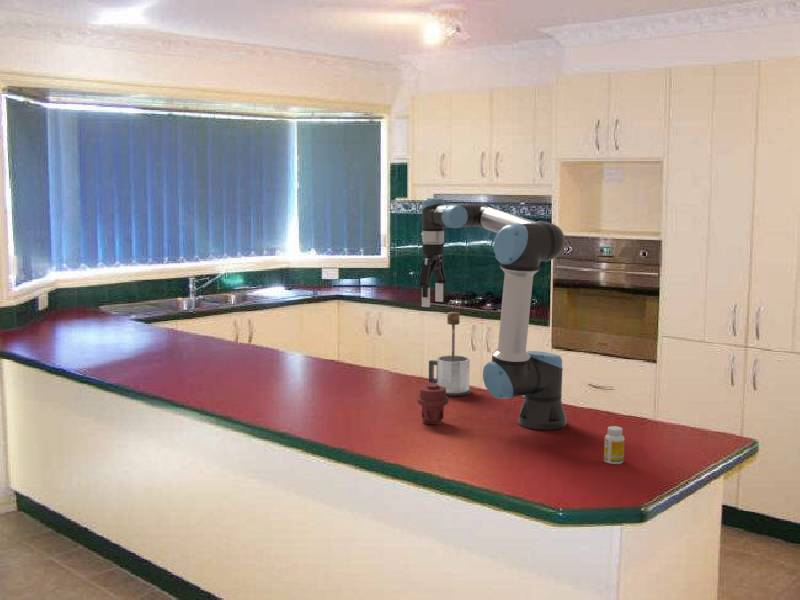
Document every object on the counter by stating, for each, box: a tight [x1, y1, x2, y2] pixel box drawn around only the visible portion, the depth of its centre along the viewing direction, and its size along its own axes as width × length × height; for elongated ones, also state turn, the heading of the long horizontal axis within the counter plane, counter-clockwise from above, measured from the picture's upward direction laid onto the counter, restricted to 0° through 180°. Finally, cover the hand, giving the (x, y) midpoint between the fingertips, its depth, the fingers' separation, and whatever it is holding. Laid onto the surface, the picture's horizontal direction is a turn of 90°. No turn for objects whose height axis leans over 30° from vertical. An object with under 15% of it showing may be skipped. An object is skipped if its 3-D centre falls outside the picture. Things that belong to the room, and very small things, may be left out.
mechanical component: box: [416, 383, 450, 425], centre depth 286 cm, size 12×10×10 cm
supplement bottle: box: [603, 425, 626, 465], centre depth 248 cm, size 5×5×10 cm
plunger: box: [446, 311, 461, 362], centre depth 324 cm, size 8×8×21 cm
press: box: [428, 355, 472, 398], centre depth 326 cm, size 16×13×12 cm
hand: (432, 304), depth 311 cm, fingers open, 13 cm apart
